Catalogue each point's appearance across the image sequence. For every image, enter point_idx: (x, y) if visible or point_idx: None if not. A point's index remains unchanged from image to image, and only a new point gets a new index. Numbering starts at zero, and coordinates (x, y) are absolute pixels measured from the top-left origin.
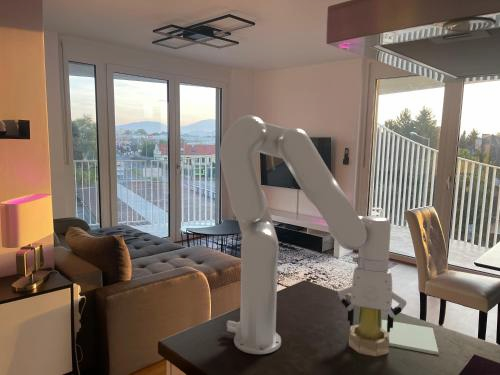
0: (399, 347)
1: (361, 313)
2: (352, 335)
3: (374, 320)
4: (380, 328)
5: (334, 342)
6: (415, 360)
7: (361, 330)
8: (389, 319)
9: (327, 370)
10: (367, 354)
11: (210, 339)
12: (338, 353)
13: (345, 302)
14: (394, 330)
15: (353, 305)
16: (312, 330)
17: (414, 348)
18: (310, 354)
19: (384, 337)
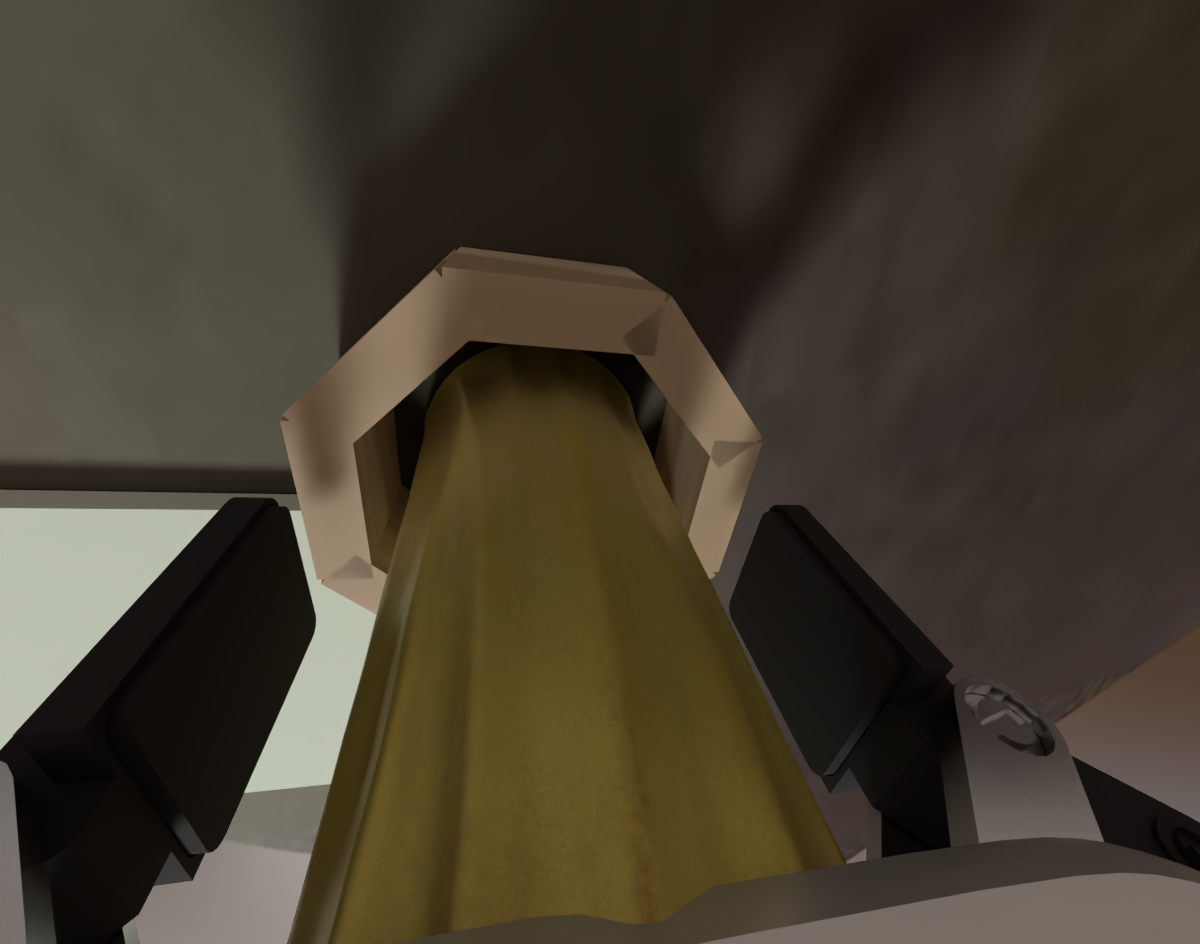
0: (254, 495)
1: (754, 679)
2: (736, 397)
3: (477, 577)
4: None
5: (816, 398)
6: (5, 291)
7: (648, 468)
8: (81, 689)
9: None
10: (548, 258)
11: None
12: (832, 199)
13: (1166, 854)
14: (335, 693)
15: (1020, 830)
16: (928, 515)
17: (85, 503)
18: (1114, 89)
19: (355, 465)
